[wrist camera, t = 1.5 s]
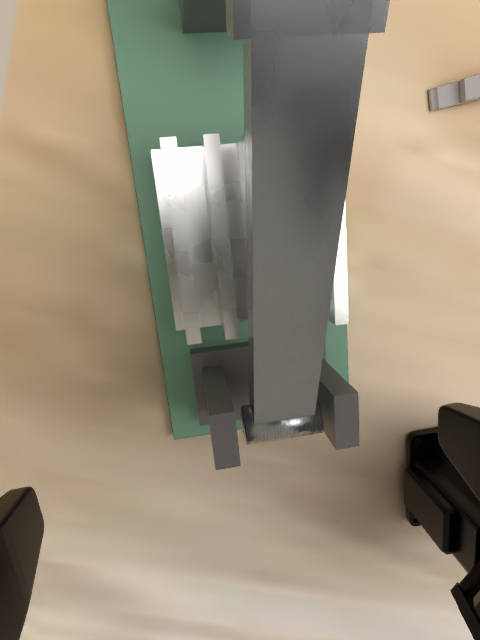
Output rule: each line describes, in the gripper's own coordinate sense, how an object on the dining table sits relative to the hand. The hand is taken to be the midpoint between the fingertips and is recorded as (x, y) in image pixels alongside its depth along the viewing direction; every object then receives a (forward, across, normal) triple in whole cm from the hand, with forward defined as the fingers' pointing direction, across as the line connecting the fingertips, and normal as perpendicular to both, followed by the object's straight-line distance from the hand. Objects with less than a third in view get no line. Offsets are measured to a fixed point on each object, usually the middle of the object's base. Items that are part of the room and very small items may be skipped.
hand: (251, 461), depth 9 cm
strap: (+5, -2, -3) cm, 7 cm away
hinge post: (+12, -2, +4) cm, 13 cm away
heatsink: (+13, -3, -4) cm, 13 cm away
